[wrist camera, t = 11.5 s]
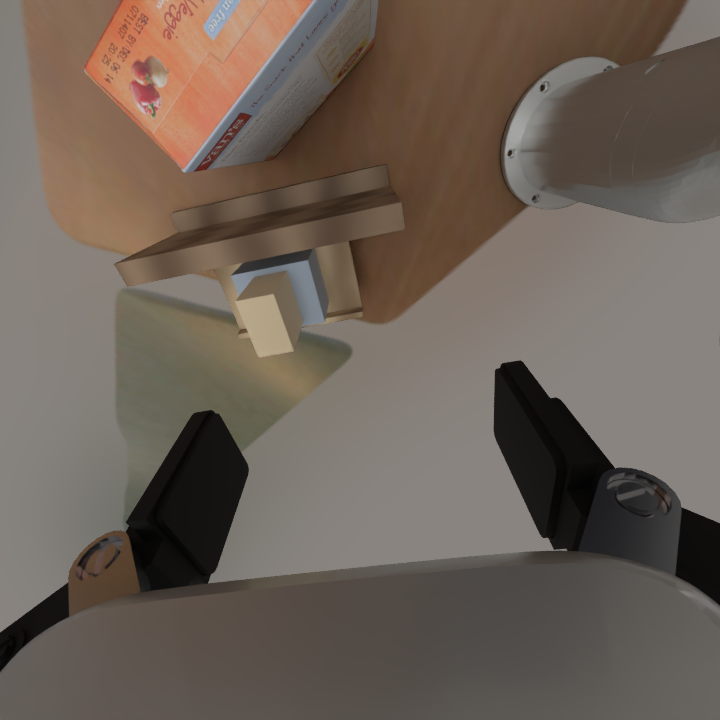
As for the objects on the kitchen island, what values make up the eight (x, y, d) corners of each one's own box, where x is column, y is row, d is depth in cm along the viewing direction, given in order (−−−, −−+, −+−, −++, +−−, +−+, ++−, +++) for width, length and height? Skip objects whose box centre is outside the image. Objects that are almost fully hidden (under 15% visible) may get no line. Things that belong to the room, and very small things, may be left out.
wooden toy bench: (385, 163, 35) (398, 172, 24) (401, 281, 42) (416, 329, 31) (174, 212, 38) (99, 239, 27) (222, 315, 45) (177, 371, 34)
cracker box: (330, -30, 28) (282, -330, 10) (376, 45, 30) (401, -93, 13) (225, 107, 33) (70, 64, 15) (272, 162, 35) (185, 180, 18)
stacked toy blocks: (314, 245, 33) (297, 282, 24) (329, 303, 36) (320, 354, 27) (246, 259, 34) (206, 300, 25) (267, 314, 37) (238, 368, 28)
